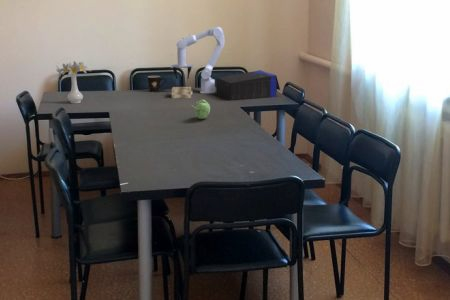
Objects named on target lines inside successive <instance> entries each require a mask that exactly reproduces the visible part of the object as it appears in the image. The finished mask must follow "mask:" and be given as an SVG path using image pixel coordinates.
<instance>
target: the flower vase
mask: <svg viewBox="0 0 450 300" xmlns="http://www.w3.org/2000/svg"><path fill="white" fill-rule="evenodd" d="M72 63H73V64H72ZM55 67H56V72H57V73H58V77H59V78H60V77H61V76H63V75H65V74H66V73H68V74H67V75H68V76H70V77H71V80H70V81H71V90H70V92H69V93H68V94H67V97H66V98H67V100H68V101H70V103H71V104H79V103H82V102H81V101H82V100H83V98H84V95H83V93H82V92H81V91H79V88H78V81H77V77H78V73H79V72H83V73H85V74H87V71H86V70H87V69H88V66H87V65H84V62H83V61H81V62H78V63H77V62H76V61H72V62H71V61H69V63H62V68H60V67H59V66H58V65H55Z"/></svg>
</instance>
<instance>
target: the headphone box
mask: <svg viewBox="0 0 450 300" xmlns="http://www.w3.org/2000/svg"><path fill="white" fill-rule="evenodd" d="M215 81H216V82H215V85H216V86H215V95H217V96H219V97H221V98H224V99H225V100H228V101H230V102H232V101H245V100H255V99H269V98H277V92H278V91H281V88H280V85H279V81H278V76H277V74H273V73H271V72H268V71H264V70H261V69H260V70H254V71H249V72H242V73H236V74H235V73H234V74H231V75H225V76H218V77H215Z"/></svg>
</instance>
